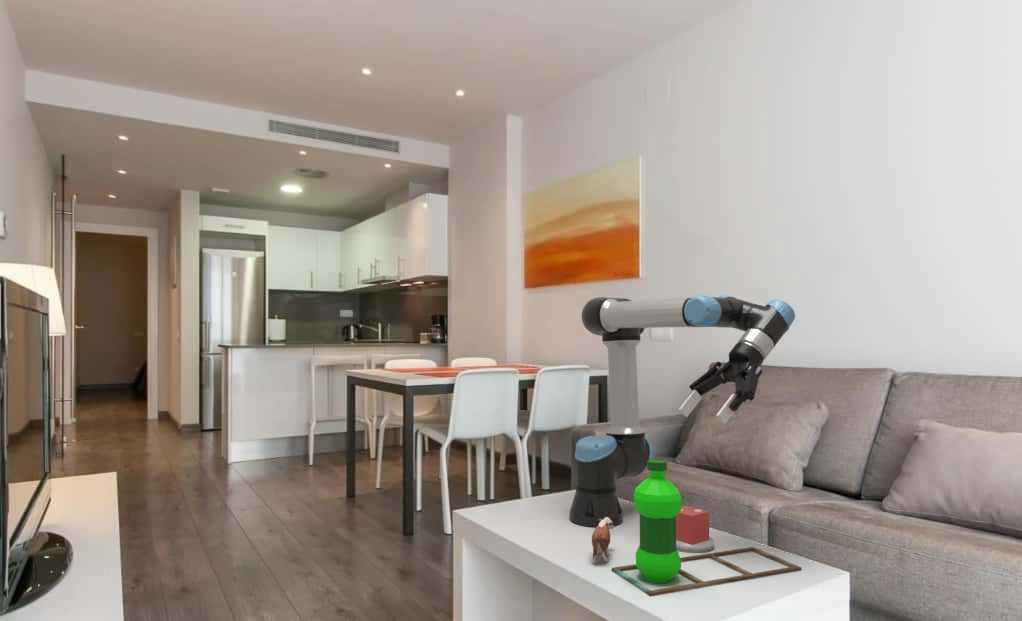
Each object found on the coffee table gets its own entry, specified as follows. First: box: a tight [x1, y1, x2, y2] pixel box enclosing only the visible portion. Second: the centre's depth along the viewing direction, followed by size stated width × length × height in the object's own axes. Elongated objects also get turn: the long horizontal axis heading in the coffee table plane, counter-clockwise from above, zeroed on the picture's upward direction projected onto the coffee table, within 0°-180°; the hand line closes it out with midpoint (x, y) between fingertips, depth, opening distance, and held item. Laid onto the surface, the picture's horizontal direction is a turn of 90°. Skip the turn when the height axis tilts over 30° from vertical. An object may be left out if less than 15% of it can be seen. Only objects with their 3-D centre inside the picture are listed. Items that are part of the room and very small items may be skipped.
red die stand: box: [676, 505, 715, 554], centre depth 156 cm, size 12×12×9 cm
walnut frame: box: [611, 546, 802, 597], centre depth 138 cm, size 15×40×1 cm, turn 111°
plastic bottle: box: [633, 458, 683, 584], centre depth 134 cm, size 10×10×25 cm
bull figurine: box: [591, 517, 614, 565], centre depth 147 cm, size 4×13×8 cm, turn 161°
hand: (700, 416), depth 145 cm, fingers open, 13 cm apart
